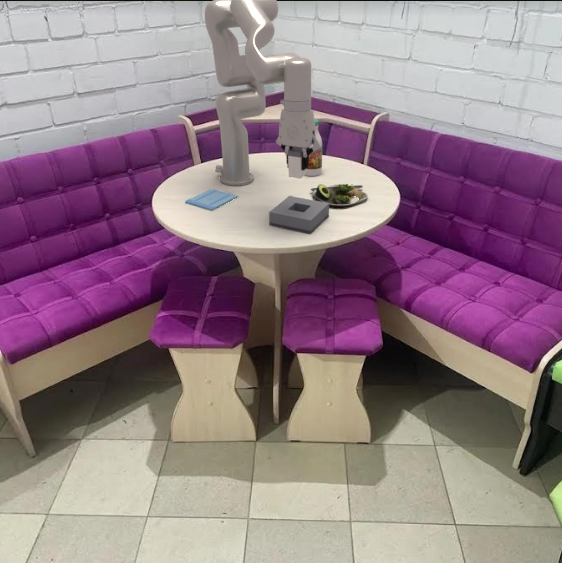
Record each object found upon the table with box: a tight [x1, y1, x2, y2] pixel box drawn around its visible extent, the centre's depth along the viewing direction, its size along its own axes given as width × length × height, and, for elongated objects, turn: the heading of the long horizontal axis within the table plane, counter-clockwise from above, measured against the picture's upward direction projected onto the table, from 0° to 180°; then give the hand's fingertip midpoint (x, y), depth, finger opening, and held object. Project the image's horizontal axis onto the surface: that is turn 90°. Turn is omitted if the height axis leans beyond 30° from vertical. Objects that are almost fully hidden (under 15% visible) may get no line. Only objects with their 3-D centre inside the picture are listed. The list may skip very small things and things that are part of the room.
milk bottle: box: [305, 118, 323, 177], centre depth 208 cm, size 8×8×20 cm
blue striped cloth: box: [184, 188, 239, 212], centre depth 192 cm, size 14×12×1 cm
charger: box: [288, 147, 307, 179], centre depth 167 cm, size 4×4×8 cm
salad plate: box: [310, 183, 368, 209], centre depth 192 cm, size 19×18×5 cm
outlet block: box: [268, 195, 330, 235], centre depth 176 cm, size 14×14×4 cm
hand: (297, 167), depth 168 cm, fingers closed on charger, 4 cm apart
